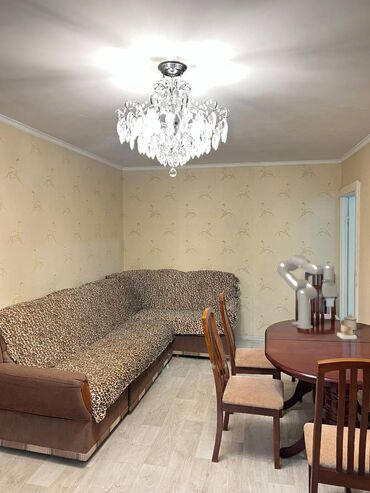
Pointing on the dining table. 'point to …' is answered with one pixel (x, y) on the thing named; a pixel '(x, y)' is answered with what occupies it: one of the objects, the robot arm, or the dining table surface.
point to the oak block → (346, 330)
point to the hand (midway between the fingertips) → (329, 305)
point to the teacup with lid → (350, 321)
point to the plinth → (347, 336)
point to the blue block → (330, 302)
